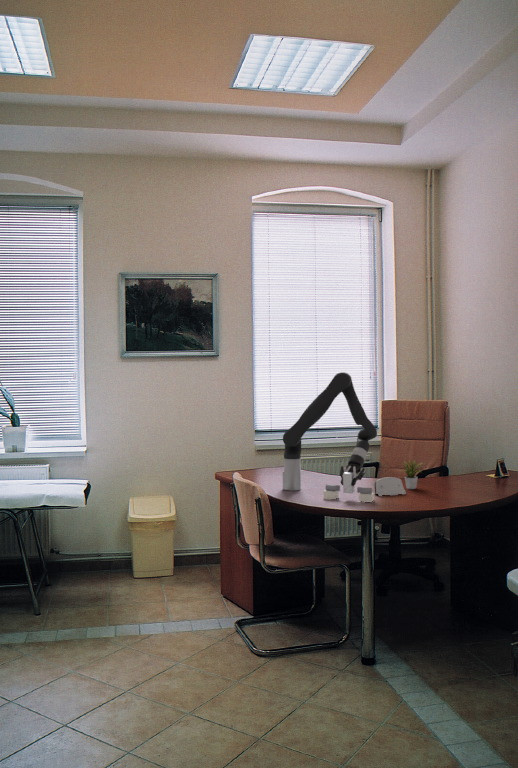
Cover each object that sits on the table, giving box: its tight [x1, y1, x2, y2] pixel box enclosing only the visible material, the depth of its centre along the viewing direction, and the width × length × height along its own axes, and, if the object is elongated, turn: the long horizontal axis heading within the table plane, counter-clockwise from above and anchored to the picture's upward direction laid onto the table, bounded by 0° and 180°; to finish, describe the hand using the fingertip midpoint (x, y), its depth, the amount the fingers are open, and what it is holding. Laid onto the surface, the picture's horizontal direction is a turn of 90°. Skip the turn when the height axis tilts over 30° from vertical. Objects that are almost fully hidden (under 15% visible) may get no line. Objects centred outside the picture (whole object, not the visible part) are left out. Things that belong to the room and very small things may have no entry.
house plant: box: [399, 458, 425, 490], centre depth 371 cm, size 14×14×16 cm
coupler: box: [342, 472, 355, 494], centre depth 343 cm, size 4×4×10 cm
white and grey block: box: [356, 486, 375, 503], centre depth 339 cm, size 8×6×7 cm
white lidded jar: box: [323, 484, 341, 500], centre depth 347 cm, size 8×6×7 cm
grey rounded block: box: [373, 476, 406, 497], centre depth 357 cm, size 17×5×10 cm, turn 109°
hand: (347, 484), depth 341 cm, fingers closed on coupler, 5 cm apart
